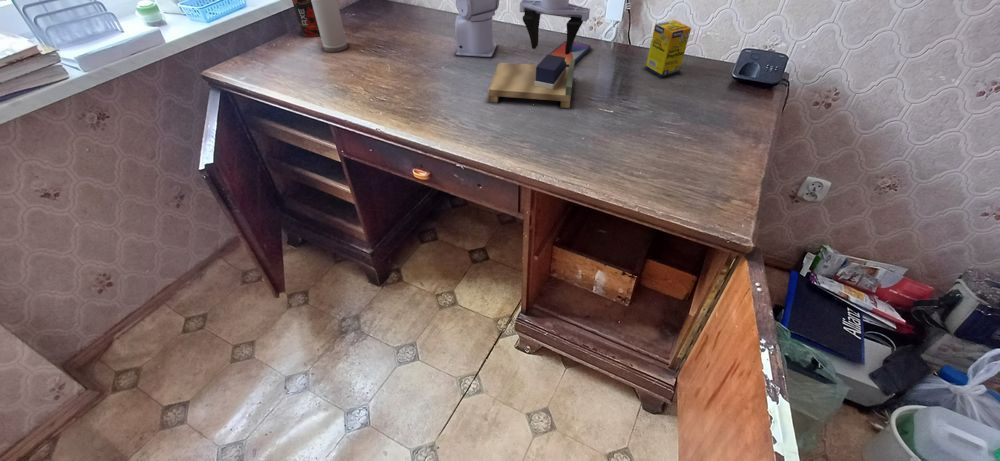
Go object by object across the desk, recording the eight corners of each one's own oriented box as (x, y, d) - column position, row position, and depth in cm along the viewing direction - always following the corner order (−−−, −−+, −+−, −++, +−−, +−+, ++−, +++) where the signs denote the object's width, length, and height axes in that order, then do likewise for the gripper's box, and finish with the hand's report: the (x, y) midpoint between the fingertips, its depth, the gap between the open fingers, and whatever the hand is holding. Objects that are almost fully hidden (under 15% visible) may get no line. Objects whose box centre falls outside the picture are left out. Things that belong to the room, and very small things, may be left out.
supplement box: (661, 78, 112) (672, 32, 105) (644, 68, 116) (654, 23, 108) (679, 73, 114) (692, 27, 107) (663, 63, 118) (673, 19, 110)
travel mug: (318, 50, 125) (295, -33, 111) (333, 41, 129) (313, -40, 116) (337, 54, 123) (317, -30, 109) (352, 45, 128) (334, -37, 114)
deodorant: (301, 37, 132) (284, -21, 121) (302, 30, 136) (286, -27, 125) (322, 35, 133) (307, -22, 122) (323, 28, 137) (308, -29, 126)
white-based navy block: (553, 89, 102) (554, 71, 99) (534, 85, 103) (535, 67, 100) (566, 72, 108) (567, 54, 105) (548, 69, 109) (549, 51, 106)
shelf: (488, 101, 104) (488, 80, 101) (499, 74, 114) (498, 54, 111) (569, 108, 102) (571, 86, 99) (572, 79, 112) (575, 59, 109)
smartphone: (591, 49, 125) (591, 45, 124) (569, 69, 115) (569, 65, 115) (565, 44, 128) (566, 40, 127) (542, 63, 118) (542, 59, 117)
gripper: (597, -20, 93) (588, 48, 102) (528, -28, 97) (526, 38, 107) (587, -10, 88) (579, 60, 98) (516, -18, 92) (515, 50, 102)
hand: (551, 49), depth 102 cm, fingers open, 7 cm apart
